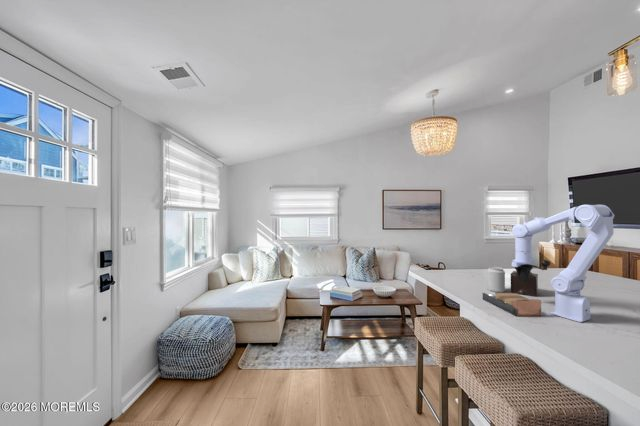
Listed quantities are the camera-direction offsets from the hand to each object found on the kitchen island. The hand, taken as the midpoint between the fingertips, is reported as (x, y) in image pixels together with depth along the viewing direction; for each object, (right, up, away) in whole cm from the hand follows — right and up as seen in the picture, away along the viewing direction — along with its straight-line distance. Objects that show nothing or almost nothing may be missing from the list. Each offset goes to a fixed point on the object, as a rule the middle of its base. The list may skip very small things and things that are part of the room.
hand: (523, 281), depth 118 cm
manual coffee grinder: (+13, -10, +13) cm, 21 cm away
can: (-1, -10, +17) cm, 20 cm away
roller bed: (-10, -9, -5) cm, 15 cm away
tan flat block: (-10, -6, -8) cm, 14 cm away
